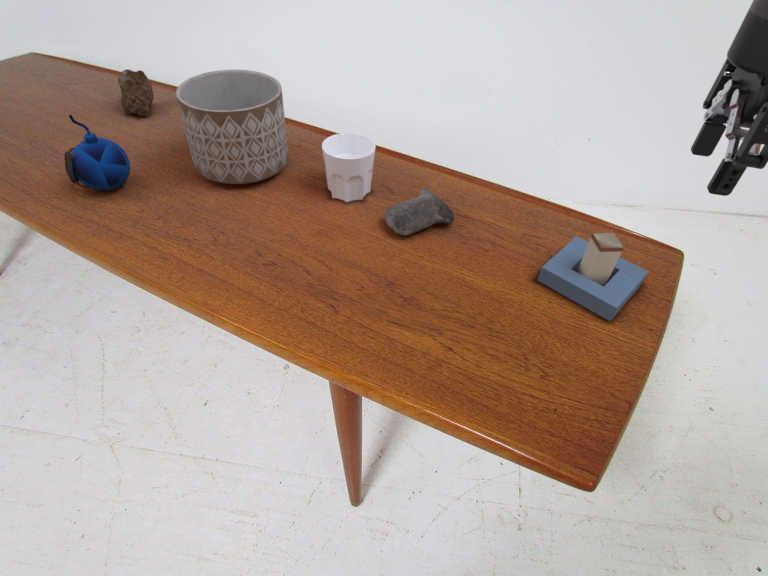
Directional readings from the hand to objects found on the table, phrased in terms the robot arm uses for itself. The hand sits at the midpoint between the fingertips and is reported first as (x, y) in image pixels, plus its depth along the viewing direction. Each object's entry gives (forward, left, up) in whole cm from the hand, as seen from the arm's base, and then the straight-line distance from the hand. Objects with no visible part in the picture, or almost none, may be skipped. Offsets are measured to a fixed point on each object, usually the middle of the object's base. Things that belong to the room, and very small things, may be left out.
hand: (707, 172), depth 56 cm
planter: (+78, +12, -28) cm, 84 cm away
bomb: (+89, +36, -28) cm, 100 cm away
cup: (+56, +2, -28) cm, 63 cm away
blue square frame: (+8, -8, -28) cm, 30 cm away
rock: (+116, +14, -28) cm, 120 cm away
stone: (+40, 0, -28) cm, 49 cm away
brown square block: (+8, -8, -28) cm, 31 cm away
